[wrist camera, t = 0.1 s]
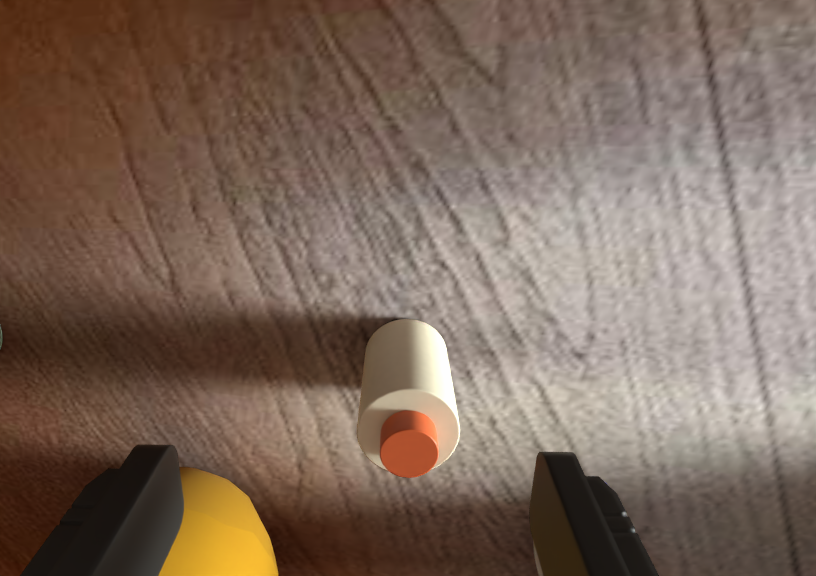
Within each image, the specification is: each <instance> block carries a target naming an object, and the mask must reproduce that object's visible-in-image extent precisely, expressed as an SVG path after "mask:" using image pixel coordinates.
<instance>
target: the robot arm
mask: <svg viewBox="0 0 816 576" xmlns="http://www.w3.org/2000/svg"><path fill="white" fill-rule="evenodd" d="M183 513H184V497H183V490H182V483H181V476H180V469H179V462H178V455H177V450H176V448H175V446H173V445H137V446H135V447H134V448H133V450H132V451H131V453H130V454H129V455H128V457H127V458H126V460H125V461H124V463H123V464H122V466H121V467H120V469H112V468H108V469H107V470H106V471H104V472H103V473H102V474H100V475H99V476H98V477H96V478H95V479H94V480H92V481H91V482H90V483H89V484H87V485H86V486H85V488H84V489H83V490H82V492H81V493H80V494H79V496H78V497H77V498H76V500H75V501H74V503H73V504H72V508H71V509H68V511H67V512H66V514H65V515H64V516H63V518H62V519H61V520H60V524H59V525H57V526H56V527H55V529H54V530H53V531H52V533H51V534H50V535H49V537H48V538H47V540H46V541H45V542H44V544H43V545H42V546H41V548H40V549H39V550H38V552H37V553H36V555H35V556H34V557H33V559H32V560H31V561H30V563H29V564H28V565H27V567H26V568H25V570H24V571H23V572H22V574H21V575H20V576H158V575H159V573H160V571H161V569H162V567H163V564H164V562H165V560H166V558H167V556H168V554H169V551H170V549H171V547H172V545H173V543H174V541H175V538H176V536H177V534H178V532H179V530H180V527H181V523H182V519H183ZM529 519H530V529H531V534H532V538H533V541H534V545H535V548H536V552H537V555H538V559H539V562H540V566H541V569H542V573H543V576H659V575H658V573H657V571H656V569H655V567H654V565H653V563H652V561H651V559H650V557H649V555H648V553H647V551H646V549H645V547H644V545H643V544H642V542H641V540H640V538H639V536H638V534H637V533H635V528H634V526H633V524H632V522H631V520H630V518H629V517H627V512H626V511H625V509H624V507H623V505H622V503H621V501H620V499H619V497H618V495H617V493H616V492H615V491H614V490H613V489H611V488H610V487H609V486H608V485H607V484H606V483H605V482H604V481H603V480H602V479H601V478H600V477H598V476H585V475H584V472H583V470H582V468H581V466H580V464H579V462H578V459H577V457H576V455H575V454H574V453H572V452H539V453H538V455H537V459H536V466H535V472H534V479H533V486H532V493H531V500H530V508H529Z"/></svg>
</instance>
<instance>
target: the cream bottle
mask: <svg viewBox="0 0 816 576" xmlns="http://www.w3.org/2000/svg"><path fill="white" fill-rule="evenodd" d="M459 436H460V424H459V418H458V413H457V407H456V401H455V395H454V390H453V384H452V378H451V372H450V367H449V361H448V355H447V349H446V345H445V343H444V340H443V338H442V337H441V335H440V334H439V333H438V332H437V331H436V330H435V329H434V328H433V327H431V326H430V325H428V324H426V323H424V322H421V321H418V320H413V319H400V320H395V321H392V322H389V323H387V324H385V325H383V326H381V327H380V328H379V329H378V330H377V331H375V332H374V334H373V335H372V336H371V338H370V339H369V341H368V344H367V346H366V351H365V360H364V369H363V378H362V388H361V397H360V406H359V415H358V424H357V438H358V442H359V445H360V447H361V449H362V451H363V452H364V454H365V455H366V456H367V458H368V459H369V460H370V461H371V462H373V463H374V464H375V465H377V466H379V467H380V468H382V469H384V470H387V471H390V472H391V473H393V474H395V475H397V476H400V477H407V478H411V477H417V476H421V475H423V474H425V473H427V472H428V471H430V470H432V469H434V468H436V467H437V466H439V465H441V464H442V463H443V462H444V461H446V460H447V459H448V458H449V457H450V456H451V454H452V453H453V451H454V450H455V448H456V446H457V444H458V441H459Z"/></svg>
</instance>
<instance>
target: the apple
mask: <svg viewBox="0 0 816 576" xmlns="http://www.w3.org/2000/svg"><path fill="white" fill-rule="evenodd" d="M179 469H180V476H181V483H182V490H183V497H184V513H183V519H182V523H181V527H180V530H179V532H178V534H177V536H176V538H175V541H174V543H173V545H172V547H171V549H170V551H169V554H168V556H167V558H166V560H165V562H164V564H163V567H162V569H161V571H160V573H159V575H158V576H279V575H278V570H277V565H276V560H275V554H274V551H273V547H272V544H271V540H270V537H269V535H268V533H267V531H266V529H265V528H264V526H263V524H262V522H261V520H260V518H259V516H258V514H257V512H256V510H255V508H254V506H253V504H252V502H251V500H250V498H249V497H248V496H247V495H246V494H245V493H244V492H242V491H241V490H240V489H239V488H238V487H237V486H235V485H234V484H233V483H232V482H230V481H229V480H228V479H225V478H223V477H220V476H217V475H214V474H212V473H209V472H205V471H202V470H199V469H196V468H191V467H179Z"/></svg>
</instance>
